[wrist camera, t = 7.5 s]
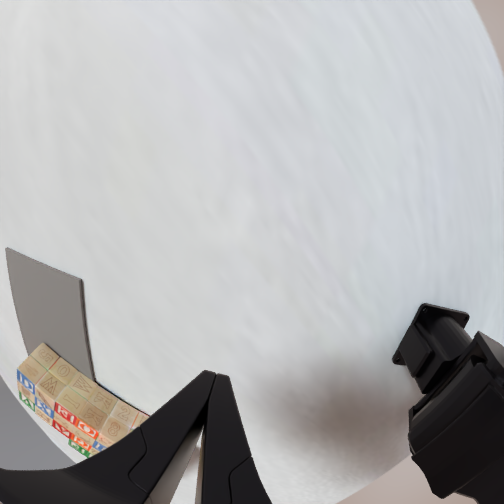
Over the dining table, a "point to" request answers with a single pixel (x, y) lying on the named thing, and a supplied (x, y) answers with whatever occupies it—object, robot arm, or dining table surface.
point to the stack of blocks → (74, 403)
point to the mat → (49, 310)
